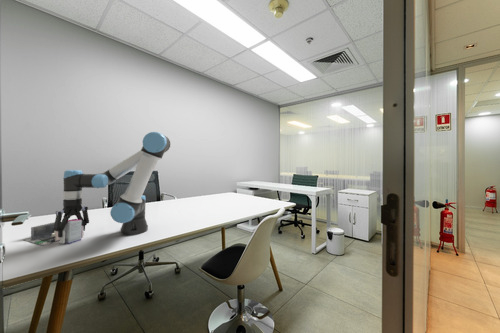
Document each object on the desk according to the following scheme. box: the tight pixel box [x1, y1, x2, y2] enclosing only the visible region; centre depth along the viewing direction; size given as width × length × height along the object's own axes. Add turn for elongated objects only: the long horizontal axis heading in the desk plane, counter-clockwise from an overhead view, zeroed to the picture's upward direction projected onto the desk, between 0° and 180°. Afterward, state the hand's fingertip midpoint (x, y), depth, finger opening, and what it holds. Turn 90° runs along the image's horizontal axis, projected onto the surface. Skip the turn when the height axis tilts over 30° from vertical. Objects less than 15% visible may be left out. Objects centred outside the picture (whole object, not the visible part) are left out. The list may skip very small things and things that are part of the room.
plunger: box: [42, 231, 60, 242], centre depth 108 cm, size 8×13×8 cm, turn 161°
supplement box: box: [64, 218, 82, 245], centre depth 107 cm, size 6×6×12 cm
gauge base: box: [23, 221, 61, 247], centre depth 110 cm, size 18×16×6 cm
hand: (72, 239), depth 107 cm, fingers open, 8 cm apart
